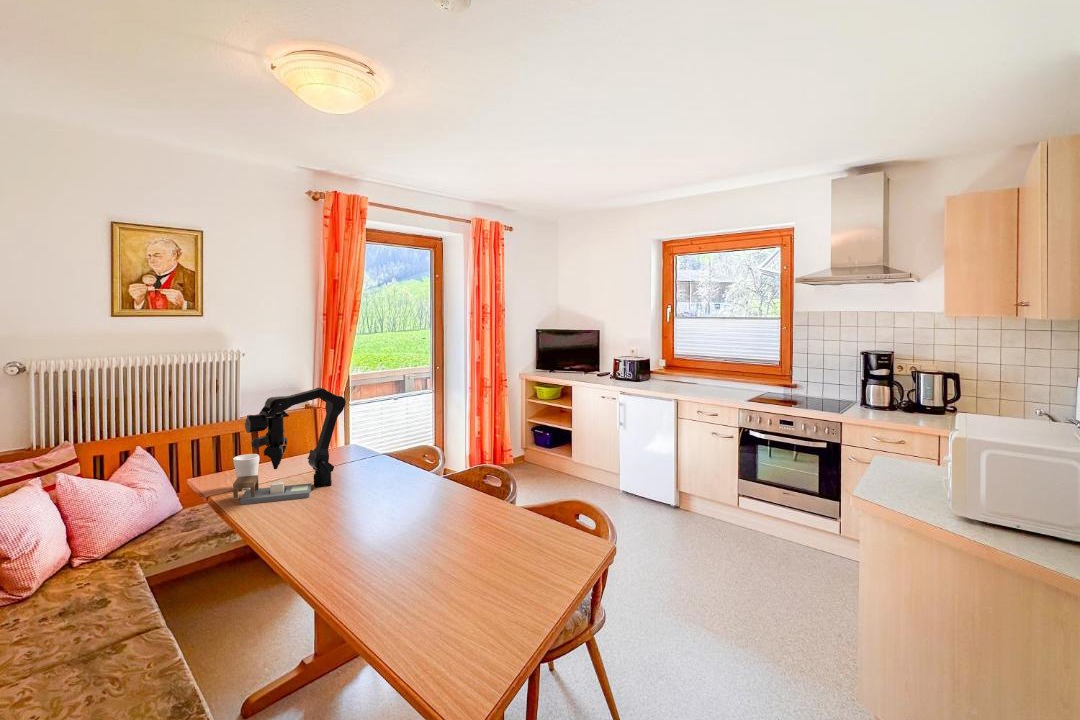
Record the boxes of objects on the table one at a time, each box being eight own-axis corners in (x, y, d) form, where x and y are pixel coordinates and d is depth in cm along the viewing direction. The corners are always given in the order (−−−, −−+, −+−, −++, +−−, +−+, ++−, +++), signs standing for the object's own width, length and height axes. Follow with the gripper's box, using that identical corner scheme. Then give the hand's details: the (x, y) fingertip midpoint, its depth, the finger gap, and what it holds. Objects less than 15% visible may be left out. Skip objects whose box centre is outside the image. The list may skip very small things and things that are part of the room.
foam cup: (239, 492, 201) (238, 461, 200) (230, 487, 206) (229, 457, 205) (264, 486, 208) (263, 456, 207) (254, 481, 214) (253, 452, 213)
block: (284, 493, 200) (284, 480, 200) (283, 497, 196) (282, 483, 195) (272, 494, 198) (271, 481, 198) (270, 498, 194) (270, 485, 194)
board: (311, 487, 207) (311, 482, 207) (309, 497, 196) (309, 492, 196) (246, 494, 198) (246, 489, 198) (240, 504, 187) (240, 499, 187)
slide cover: (258, 488, 199) (258, 475, 198) (254, 496, 190) (253, 482, 189) (238, 490, 196) (238, 476, 196) (233, 498, 187) (232, 484, 187)
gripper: (257, 425, 201) (258, 462, 202) (247, 435, 183) (249, 475, 185) (287, 423, 205) (288, 460, 206) (281, 433, 187) (282, 472, 189)
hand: (276, 466), depth 196 cm, fingers open, 6 cm apart
